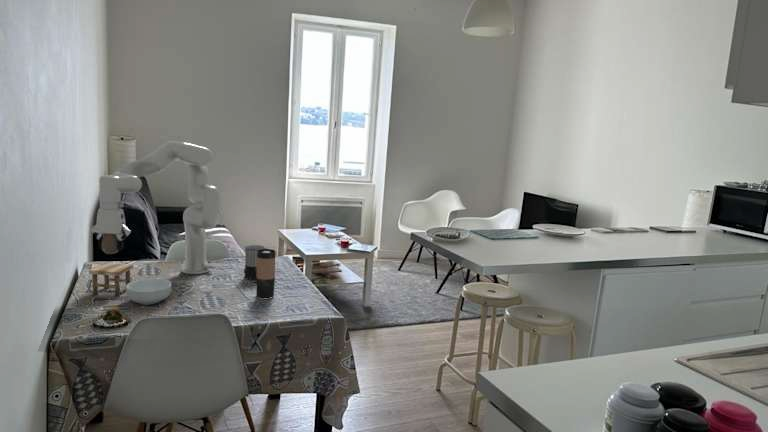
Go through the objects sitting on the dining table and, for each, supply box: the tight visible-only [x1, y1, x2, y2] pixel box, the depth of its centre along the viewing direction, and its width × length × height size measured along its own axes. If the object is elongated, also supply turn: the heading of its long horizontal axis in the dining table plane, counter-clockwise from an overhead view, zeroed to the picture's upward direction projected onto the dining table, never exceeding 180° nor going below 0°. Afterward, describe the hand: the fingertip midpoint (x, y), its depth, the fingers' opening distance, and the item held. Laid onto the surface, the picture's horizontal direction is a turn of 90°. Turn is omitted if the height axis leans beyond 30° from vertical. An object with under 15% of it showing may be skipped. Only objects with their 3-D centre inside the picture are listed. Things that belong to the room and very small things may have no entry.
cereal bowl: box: [125, 278, 172, 305], centre depth 214 cm, size 17×17×7 cm
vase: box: [101, 234, 120, 255], centre depth 219 cm, size 7×7×9 cm
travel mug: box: [255, 248, 276, 299], centre depth 228 cm, size 8×8×20 cm
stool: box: [88, 262, 134, 298], centre depth 222 cm, size 12×12×10 cm
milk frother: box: [243, 244, 268, 280], centre depth 259 cm, size 14×16×15 cm
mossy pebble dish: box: [92, 306, 131, 328], centre depth 190 cm, size 12×12×8 cm
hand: (111, 248), depth 220 cm, fingers closed on vase, 7 cm apart
